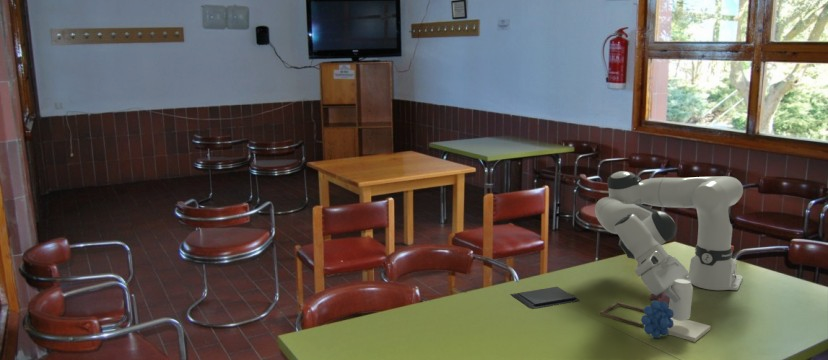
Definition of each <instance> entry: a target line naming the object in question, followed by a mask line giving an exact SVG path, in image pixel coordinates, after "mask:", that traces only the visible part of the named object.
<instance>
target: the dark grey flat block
mask: <svg viewBox="0 0 828 360" xmlns="http://www.w3.org/2000/svg"><path fill="white" fill-rule="evenodd" d="M509 296H512V297H513V299H515V300H516V301H519V302H520V303H521V304H523V305H524V306H526V307H527V308H528V309H531V310H536V309H541V308H547V307H553V305H554V306H559V304H560V305H564V304H565V305H566V304H570V303H571V302H572V303H577V302H580V301H581V299H579V298H578V297H577V296H574V295H573V294H571V293H570V292H568V291H566V290H564V289H563V288H561V287H559V286H551V287H544V288H539V289H533V290H532V289H531V290H526V291H519V292H515V293H510V294H509Z"/></svg>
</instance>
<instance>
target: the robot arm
mask: <svg viewBox="0 0 828 360" xmlns="http://www.w3.org/2000/svg"><path fill="white" fill-rule="evenodd" d="M607 188H608V196H605V197H604V196H603V197H602V198H600V199H599V200H598V201H597V202H596V203H595V207H594V213H595V216H596V219H597V221H598V222H599V224H600V225H601V226H602V227H603V229H605V230H606V231H607V232H608V233H611V234H614V235H618V237H619V242H618V246H619V247H620V248H621V249H622V250H623V252H624V253H625V255H626V257H627V258H628V259H633V260H636V262H637V265H636V267H635V270H634V272H635V275H637V276H638V277H640V279H641V281H642V282H643V284H644V285H645V286H646V288H647V289H648V290H649V292H650V293H651V294H652V293H653V294H654V295H658V294H660V293H661V292H664V294H665V295H666V296H668V297H669V298H671V299H672V300H673V302H674V303H676V302H678V301H679V300H680V297H679V296H678V295H676V294H675V293H674V292H673V291H672V289H671V286H672V285H674V281H675V280H677V278H684V279H688V280H690V281H691V285H692V286H695V287H697V288H700V289H705V290H709V291H710V290H711V291H727V290H729V291H738V290H739V288H740V286H741V284H742V282H743V280H744V279H743V275H741V274H737V271H738V265H737V263H736V261H735V260H734V259H733V251H734V248H735V247H734V245H732V237H733V225H732V224H731V221H730V215H729V208H730V207H732V206H734V205H736V203H738V202H739V201H740V199H741V198H742V196H743V194H744V187H743V184H742V183H741V181H740V180H739V179H737V178H736V177H733V176H728V175H727V176H726V175H723V176H722V175H721V176H699V177H698V176H696V177H652V178H647V179H642V178H641V177H640V176H637V175H636V174H635V173H633V172H631V171H627V170H626V171H625V170H624V171H623V170H620V171H616V172H614V173H612V174H610V176H609V177H607ZM646 205H649V206H653V207H661V208H679V209H681V208H682V209H690V208H696V213H697V221H698V232H697V243H696V244H695V249H694V251H695V253H694V254H695V255H693V256H692V257H690V263H689V269H687V268H686V267H685V266H684V265H683V264H682V262H680V260H678V259H677V258H676V257H674V256H673V255H670V254H669V253H668V252H667V250H665V249H664V247H663V246H662V245H663V244H665V243H666V242H669V241H671V240H672V239H674V238H675V237H676V234H677V232H678V231H677V230H678V226H677V224H676V222H675V221H674V219H673V218H672V217H671V216H670V215H669V213H667V212H665V211H663V210H655V209H653V208H651V207H649V206H646Z"/></svg>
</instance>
